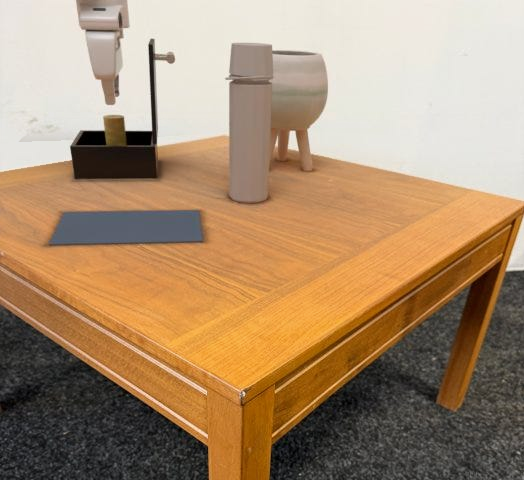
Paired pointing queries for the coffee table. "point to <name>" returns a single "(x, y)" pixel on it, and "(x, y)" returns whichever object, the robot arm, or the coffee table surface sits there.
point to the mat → (128, 227)
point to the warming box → (114, 156)
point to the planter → (296, 100)
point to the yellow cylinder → (115, 130)
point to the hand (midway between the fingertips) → (113, 100)
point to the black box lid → (153, 91)
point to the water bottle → (249, 121)
